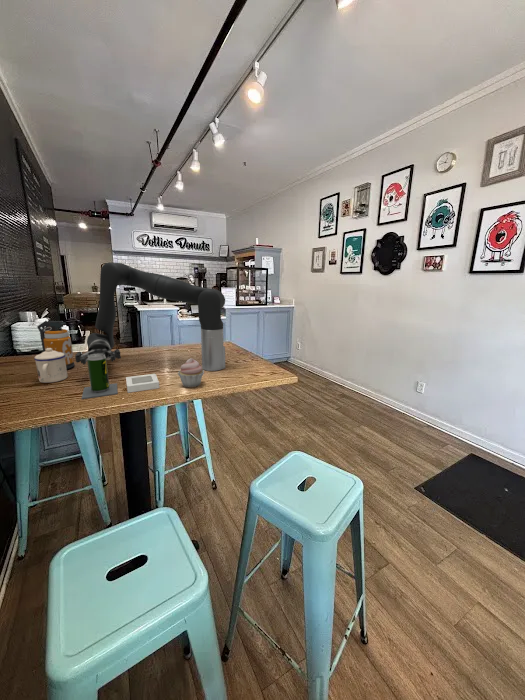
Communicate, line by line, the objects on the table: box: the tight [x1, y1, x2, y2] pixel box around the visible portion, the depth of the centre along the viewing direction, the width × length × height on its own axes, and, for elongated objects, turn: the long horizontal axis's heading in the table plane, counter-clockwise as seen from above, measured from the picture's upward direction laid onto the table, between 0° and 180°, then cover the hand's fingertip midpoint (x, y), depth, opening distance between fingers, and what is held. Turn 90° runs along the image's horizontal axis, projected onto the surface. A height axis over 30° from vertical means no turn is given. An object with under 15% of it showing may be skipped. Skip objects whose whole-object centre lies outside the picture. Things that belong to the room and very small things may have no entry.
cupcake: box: [177, 357, 205, 388], centre depth 101 cm, size 9×9×10 cm
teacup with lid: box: [34, 348, 68, 383], centre depth 102 cm, size 12×9×12 cm
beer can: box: [86, 353, 110, 393], centre depth 93 cm, size 5×5×12 cm
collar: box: [125, 373, 160, 393], centre depth 100 cm, size 10×10×2 cm
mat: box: [81, 382, 118, 400], centre depth 94 cm, size 10×10×1 cm
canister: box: [36, 319, 75, 370], centre depth 115 cm, size 9×11×20 cm
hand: (98, 360), depth 99 cm, fingers open, 8 cm apart
